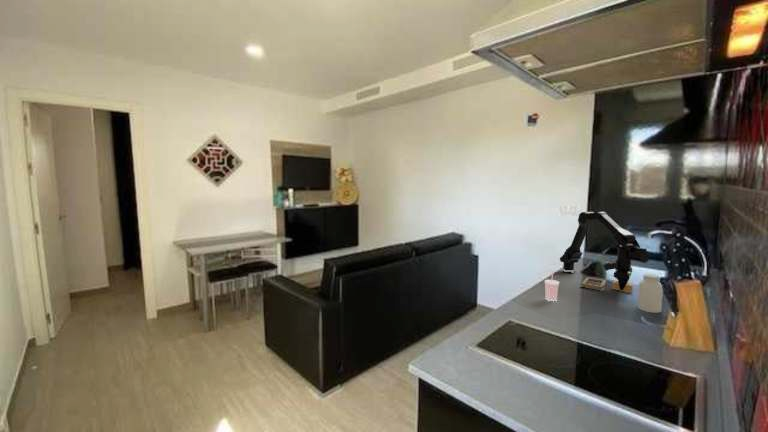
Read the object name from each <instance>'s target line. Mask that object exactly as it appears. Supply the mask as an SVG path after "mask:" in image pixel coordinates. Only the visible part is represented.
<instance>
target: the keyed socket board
mask: <svg viewBox="0 0 768 432" xmlns="http://www.w3.org/2000/svg"><path fill="white" fill-rule="evenodd" d="M589 280H590V281H594V282H600V283H601V285H600V286H598V285H592V284H586V283H587V282H588V281H589ZM606 283H607V280H606V279H605V280H604V279H601V278H600V279H598V278H593V277H586V278H584V280H583V281H582V282H581V285H582V286H584V287H589V288H591V289H596V290H602V291H603V290H605V289H604V288H603V287H604V286H605V284H606ZM591 289H590V290H591ZM596 290H595V291H596ZM602 291H601V292H602ZM603 292H604V291H603Z"/></svg>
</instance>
